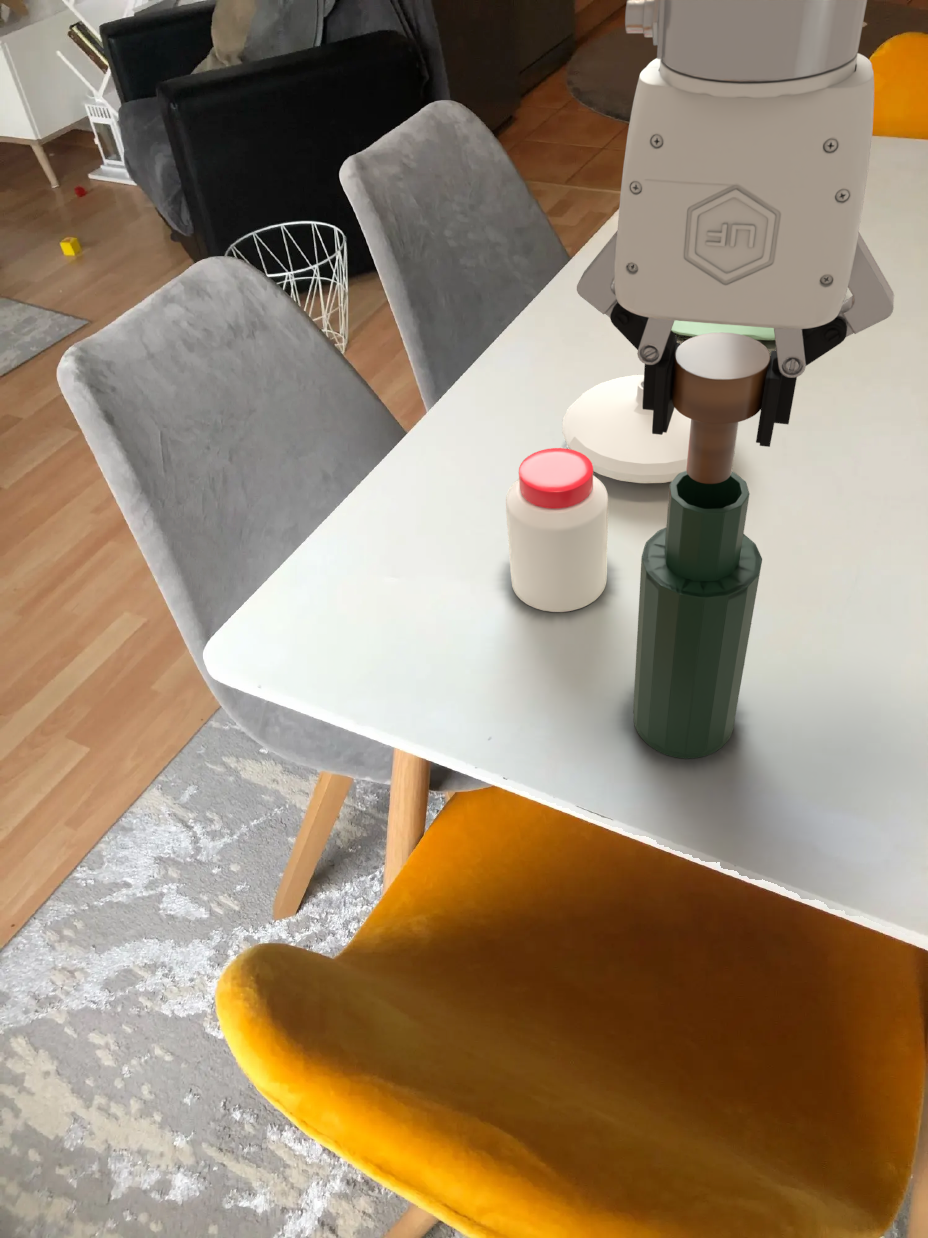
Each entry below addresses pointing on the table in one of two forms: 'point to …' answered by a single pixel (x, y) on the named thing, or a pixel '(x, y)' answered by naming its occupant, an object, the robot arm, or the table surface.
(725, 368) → the stopper
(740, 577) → the bottle
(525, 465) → the pill bottle
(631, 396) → the vase
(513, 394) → the table surface
